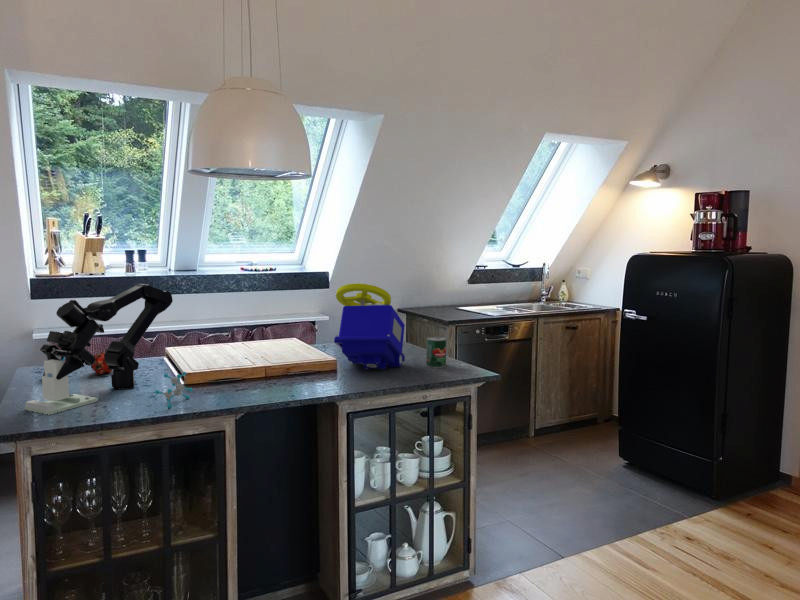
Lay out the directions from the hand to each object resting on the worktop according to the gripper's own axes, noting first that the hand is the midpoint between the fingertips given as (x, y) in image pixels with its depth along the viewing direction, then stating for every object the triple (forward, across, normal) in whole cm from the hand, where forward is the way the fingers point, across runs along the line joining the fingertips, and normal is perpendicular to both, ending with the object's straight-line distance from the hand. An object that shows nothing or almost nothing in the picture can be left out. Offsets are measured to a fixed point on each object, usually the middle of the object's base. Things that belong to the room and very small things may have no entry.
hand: (50, 377), depth 183 cm
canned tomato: (-67, +83, +80) cm, 134 cm away
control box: (-59, +58, +72) cm, 109 cm away
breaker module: (+4, 0, +6) cm, 7 cm away
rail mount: (+5, +1, +8) cm, 10 cm away
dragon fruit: (-19, -23, +32) cm, 44 cm away
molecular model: (-8, +28, +21) cm, 36 cm away
